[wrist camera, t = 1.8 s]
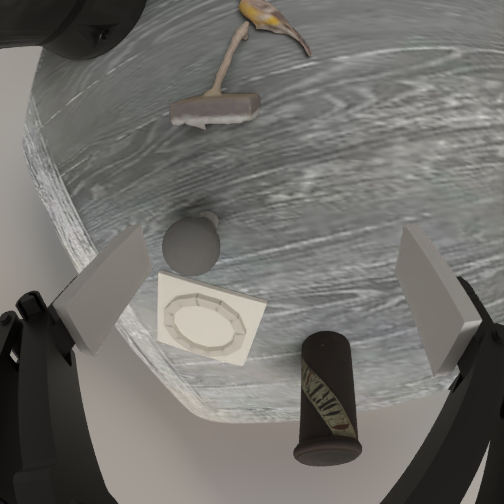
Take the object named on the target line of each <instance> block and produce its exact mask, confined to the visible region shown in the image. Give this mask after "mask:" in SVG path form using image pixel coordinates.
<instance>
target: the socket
mask: <svg viewBox="0 0 504 504" xmlns="http://www.w3.org/2000/svg"><path fill="white" fill-rule="evenodd" d="M266 305H267V300H264V299H260V298H257V297H253V296H249V295H246V294H242V293H239V292H235V291H231V290H228V289H224V288H221V287H217V286H214V285H210V284H207V283H203V282H200V281H197V280H193V279H190V278H187V277H183V276H180V275H177V274H173V273H170V272H167V271H164V270H160V271H159V273H158V341H160V342H162V343H165V344H168V345H171V346H174V347H177V348H180V349H183V350H186V351H190V352H193V353H196V354H199V355H203V356H206V357H210V358H213V359H217V360H220V361H224V362H227V363H231V364H235V365H239V366H244V363H245V360H246V358H247V355H248V353H249V350H250V347H251V345H252V342H253V340H254V337H255V334H256V332H257V329H258V326H259V324H260V321H261V318H262V316H263V313H264V310H265V307H266Z"/></svg>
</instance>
